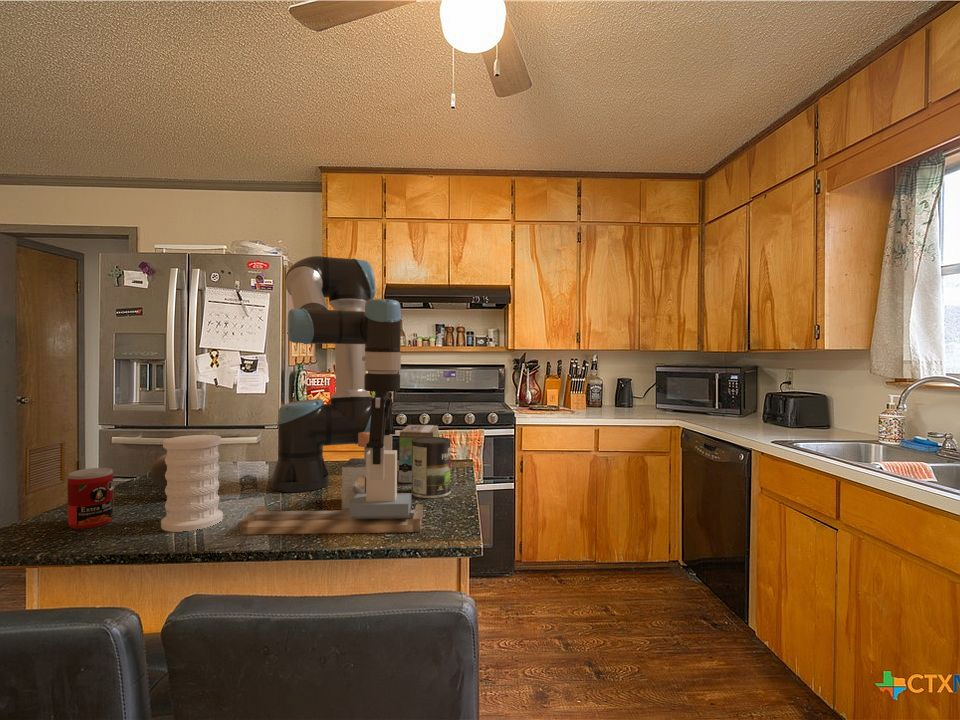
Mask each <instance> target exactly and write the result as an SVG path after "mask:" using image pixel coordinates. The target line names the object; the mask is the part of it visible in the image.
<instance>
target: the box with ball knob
mask: <svg viewBox="0 0 960 720" xmlns="http://www.w3.org/2000/svg"><path fill="white" fill-rule="evenodd" d="M356 494H366V464H364V458H361V457H359V458H358V457H357V458H355V457H354V458H349V460H348V461H346V463H345V464H344V465H342V467H341V511H343V510H350V503H351V502H352V500H353V499H354V497H355V496H356Z"/></svg>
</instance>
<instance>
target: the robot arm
mask: <svg viewBox="0 0 960 720" xmlns="http://www.w3.org/2000/svg"><path fill="white" fill-rule="evenodd" d="M284 284H285V285H284V286H285V288H286V291H287V293H288V294H289V295H290V296H291V301H292V305H293V308H292V309H289V311H288V312H287V338H288V340H289V342H290V343H292V344H303V345H311V344H313V345H321V344H322V345H324V344H326V345H331V344H332V345H334V356H335V358H334V361H335V363H334V366H335V367H334V369H335V375H334V376H335V392H334V393H333V394H332V395H331V396H330V398H329V400H330V403H324V401H323V399H321V398H313V399H312V398H311V399H303V400H297V401H291V402H288V403H285V404H283V405H281V406H280V407H279V409H278V416H277V417H278V419H277V422H276V423H277V425H278V428H277V429H278V431H277V432H278V433H277V434H278V435H277V436H278V437H277V439H278V440H277V441H278V442H277V445H278V446H277V461H276V463H275V467H274V468H273V473H272V476H271V480H270V488H271V490H274V491H276V492H283V493H300V492H302V493H303V492H310V491H315V490H319V489H323V488H325V487H327V486H328V485H329V484H330V474H329V471H328V468H327V465H326V461H325V459H324V455H323V454H324V453H323V451H324V449H323V448H324V447H325V446H326V447H327V446H343V445H345V446H346V445H358V433H360V432H370V435H369V442H368V443H366V448H370V480H384V450H393V435H396V429H394V425H393V424H394V423H393V422H394V421H393V404H394V403H393V399H392V396H393V394H392V392H397V391H400V389H401V374H400V373H399V372H400V371H401V366H402V365H401V363H402V360H401V359H402V356H401V355H402V353H401V341H402V340H401V334H402V333H401V332H402V330H401V329H402V328H401V325H402V321H401V320H402V311H401V310H402V309H401V308H402V307H401V303H400V302H399V301H398V300H396V299H387V298H386V299H385V298H375V296H376V278H375V273H374V269H373V267H372V265H371V263H370V262H368V261H367V260H362V259H357V258H345V257H344V258H342V257H332V256H321V255H319V256H318V255H314V256H309V257H305V258H302V259H300V260H299V261H298V260H297V261H295V263H293V265H291V266H290V267H289V269H288V270H287V272H286V274H285V277H284ZM325 298H328V304H327V302H326V300H325ZM328 305H329V306H330V307H331V308H332V309H329V307H328ZM369 392H374V397H373V396H372V395H371V394H370V393H369Z"/></svg>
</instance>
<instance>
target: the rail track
mask: <svg viewBox="0 0 960 720" xmlns="http://www.w3.org/2000/svg"><path fill="white" fill-rule="evenodd" d="M423 517H424V504H419V503H418V504H417V503H416V504H415V507H414V509H411V510H410V512H409V518H377V519H351V517H350V510H277V511H275V510H272V511H271V510H267V505H258V506H257V507H256V508H254V509H253V510H252V511H251V512H250V513H248V514H247V515H246V516H245V517H243V518H242V519H241V520H240V521H239V534H240V535H288V534H289V535H291V534H292V535H293V534H294V535H296V534H297V535H298V534H299V535H300V534H303V535H304V534H307V535H308V534H309V535H310V534H361V533H362V534H363V533H364V534H366V533H367V534H368V533H370V534H371V533H378V534H379V533H421V529H422V525H423Z"/></svg>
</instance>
